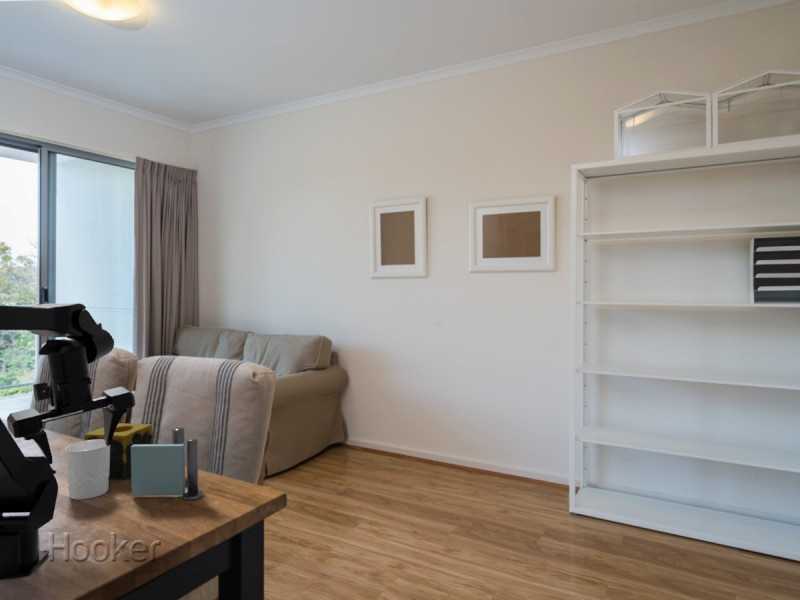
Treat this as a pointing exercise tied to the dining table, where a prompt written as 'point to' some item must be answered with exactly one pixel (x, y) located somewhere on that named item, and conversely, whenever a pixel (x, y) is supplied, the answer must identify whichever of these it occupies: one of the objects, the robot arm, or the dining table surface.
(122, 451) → the holed cube box
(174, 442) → the post
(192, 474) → the hinge post
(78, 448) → the white cup
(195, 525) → the dining table surface
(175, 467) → the gate
